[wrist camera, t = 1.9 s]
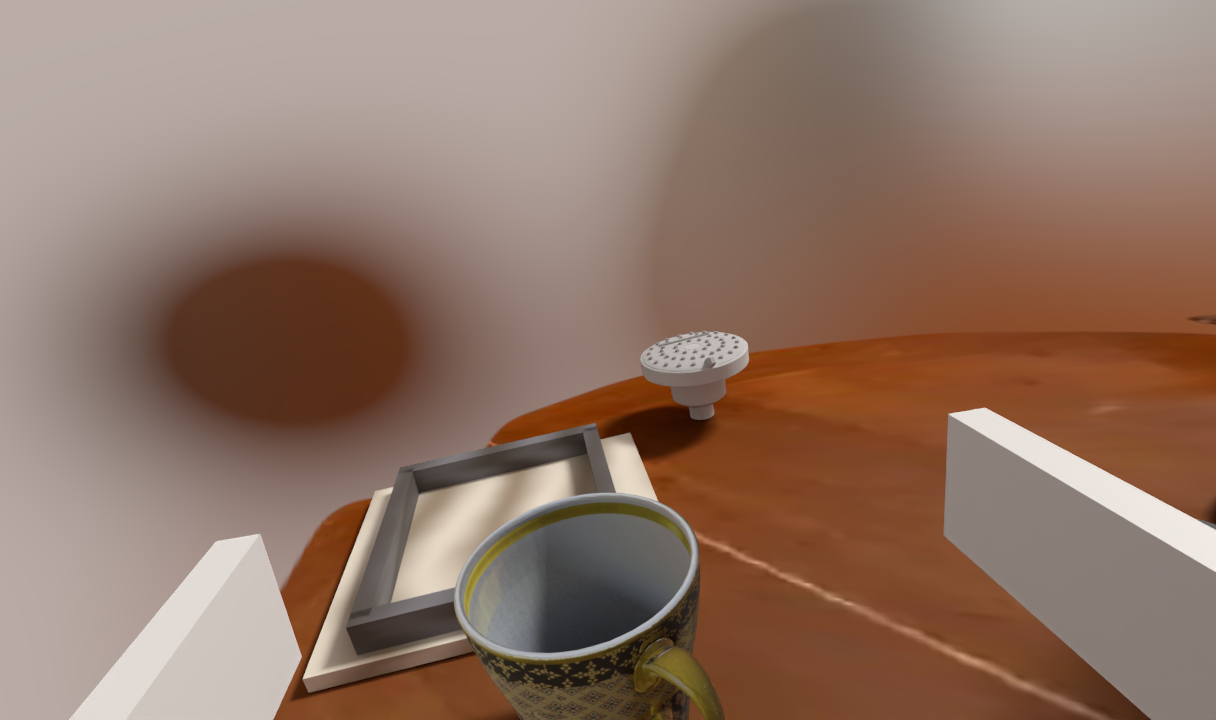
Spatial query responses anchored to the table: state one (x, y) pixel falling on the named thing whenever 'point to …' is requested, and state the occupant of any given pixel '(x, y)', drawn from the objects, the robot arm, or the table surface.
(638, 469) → the square frame board
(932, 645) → the table surface
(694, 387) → the showerhead
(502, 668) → the ceramic cup
